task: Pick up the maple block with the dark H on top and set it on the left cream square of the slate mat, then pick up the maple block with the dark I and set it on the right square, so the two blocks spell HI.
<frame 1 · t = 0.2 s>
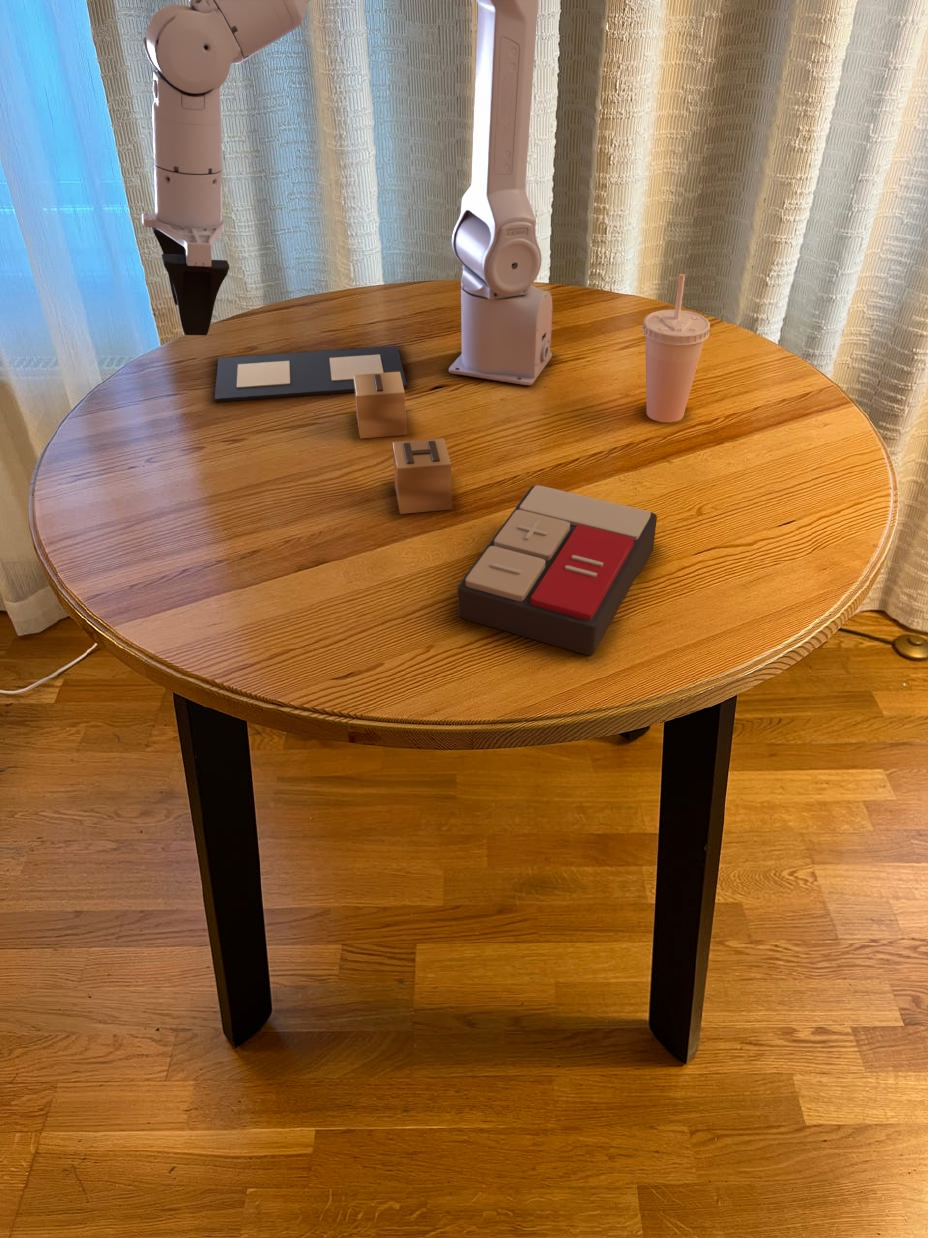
hand: (190, 318, 97), 10 cm above the table, tool pointing down, fingers open, 7 cm apart
letter block i: (381, 425, 102), on the table
calculator: (559, 584, 81), on the table
word mat: (310, 374, 111), on the table
smoothie: (664, 415, 103), on the table
letter block h: (423, 498, 91), on the table
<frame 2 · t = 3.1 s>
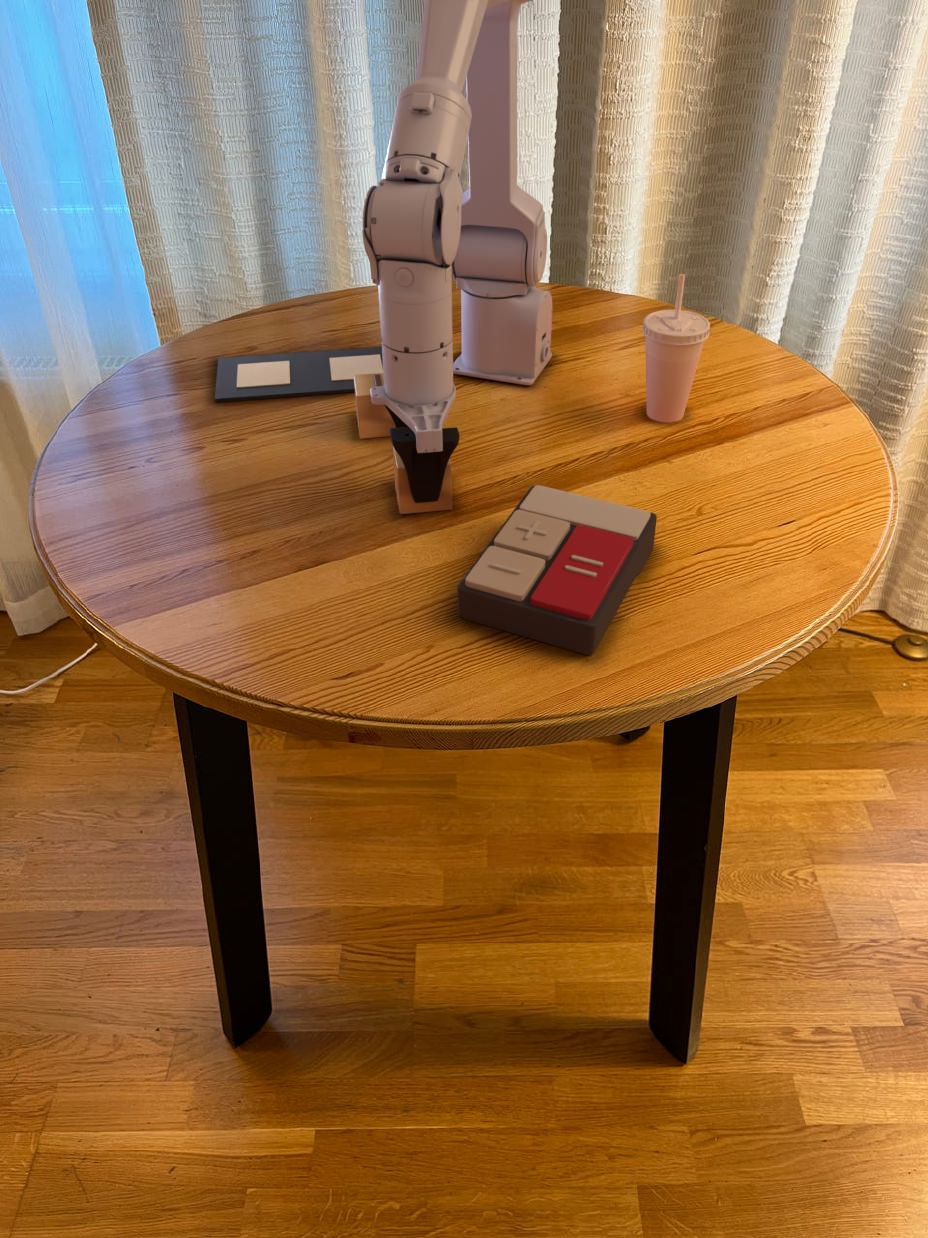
hand: (422, 484, 90), 1 cm above the table, tool pointing down, fingers closed on letter block h, 4 cm apart
letter block h: (423, 498, 91), on the table, touching gripper
everything else where it was.
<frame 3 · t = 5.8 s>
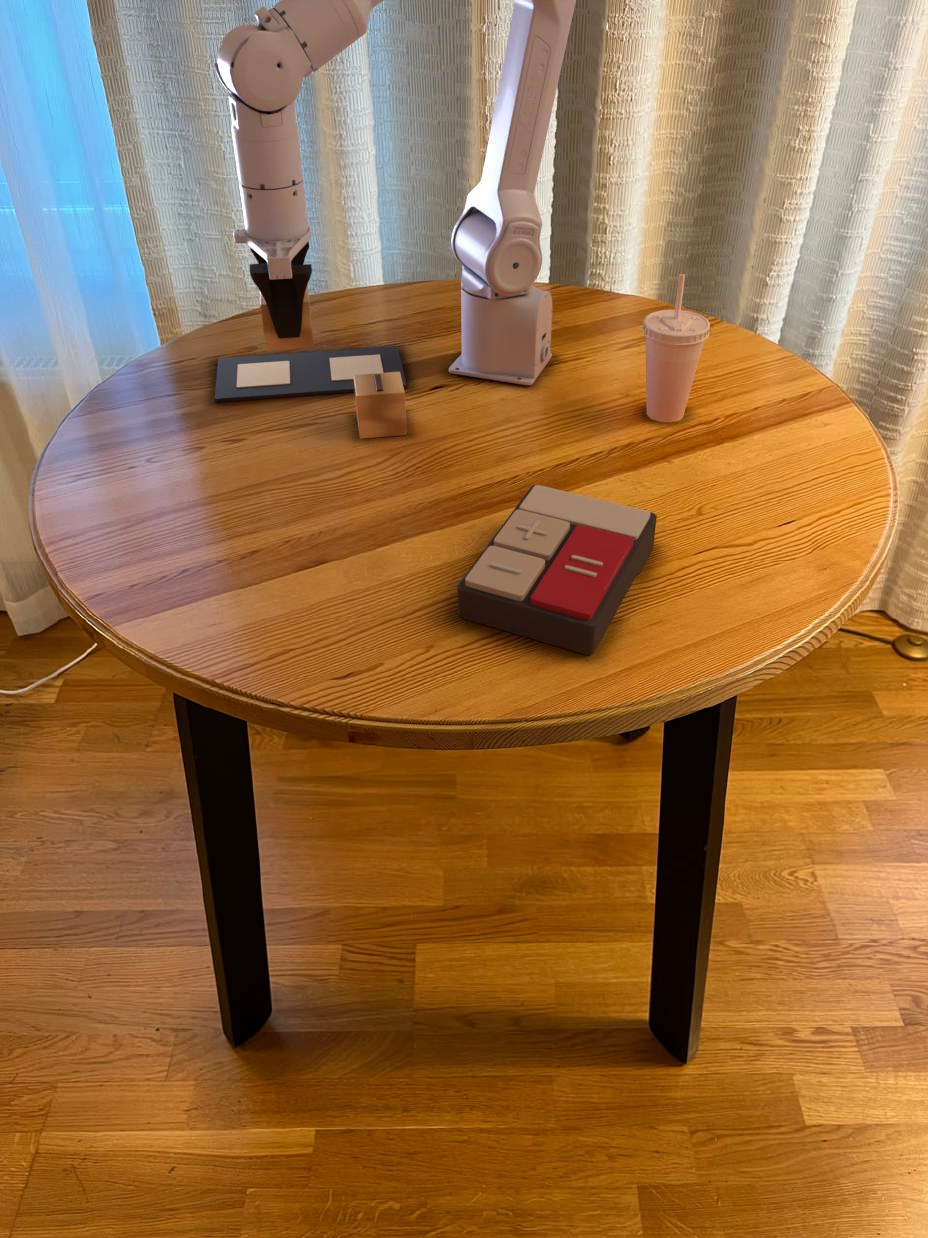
hand: (288, 325, 100), 8 cm above the table, tool pointing down, fingers closed on letter block h, 4 cm apart
letter block h: (289, 339, 101), point 7 cm above the table, touching gripper
everything else where it was.
when the fingers open (2 cm above the table, at t = 8.5 s): letter block h stays where it is, resting on word mat.
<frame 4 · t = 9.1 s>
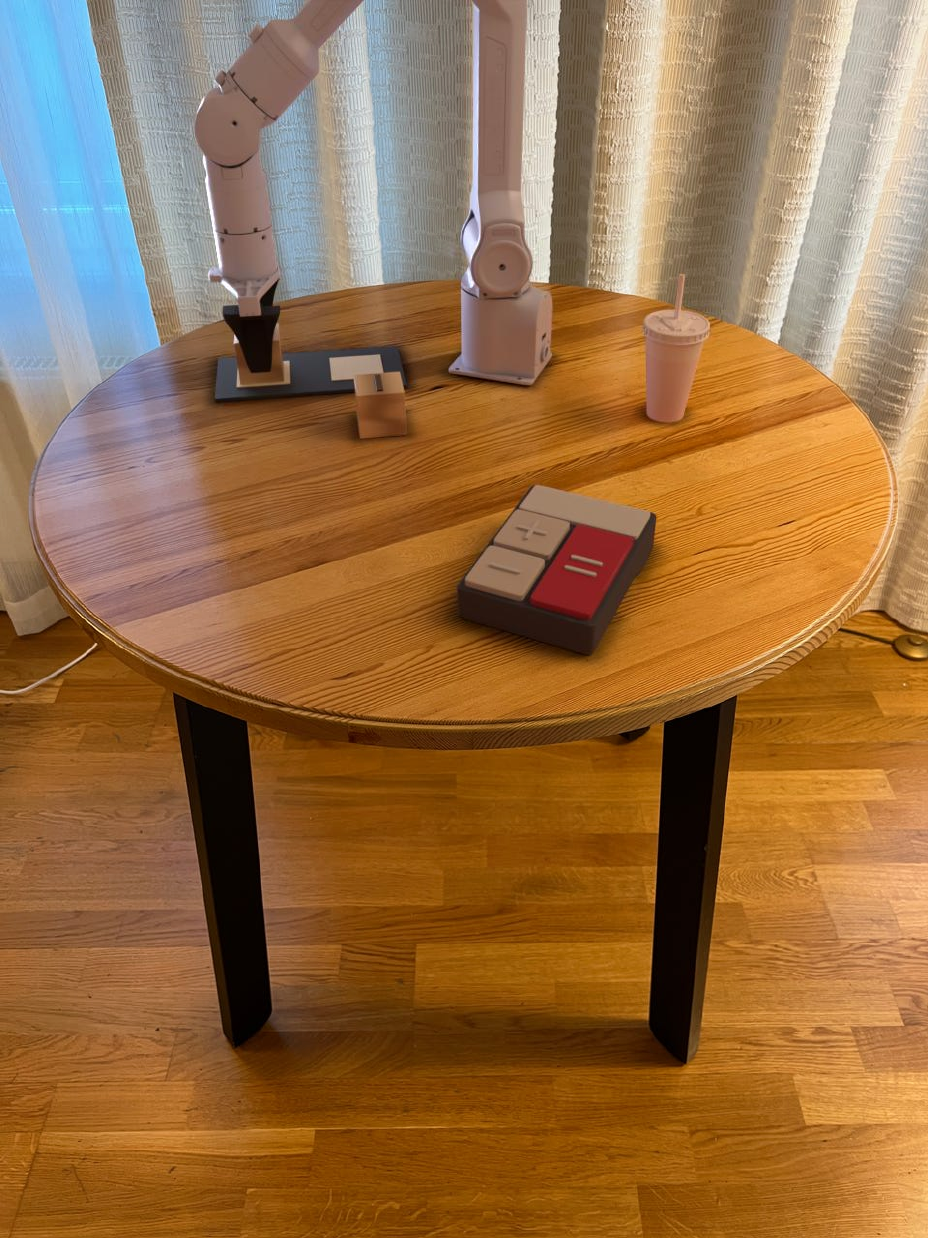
hand: (260, 355, 109), 3 cm above the table, tool pointing down, fingers open, 7 cm apart
letter block h: (262, 373, 110), resting on word mat
everything else where it was.
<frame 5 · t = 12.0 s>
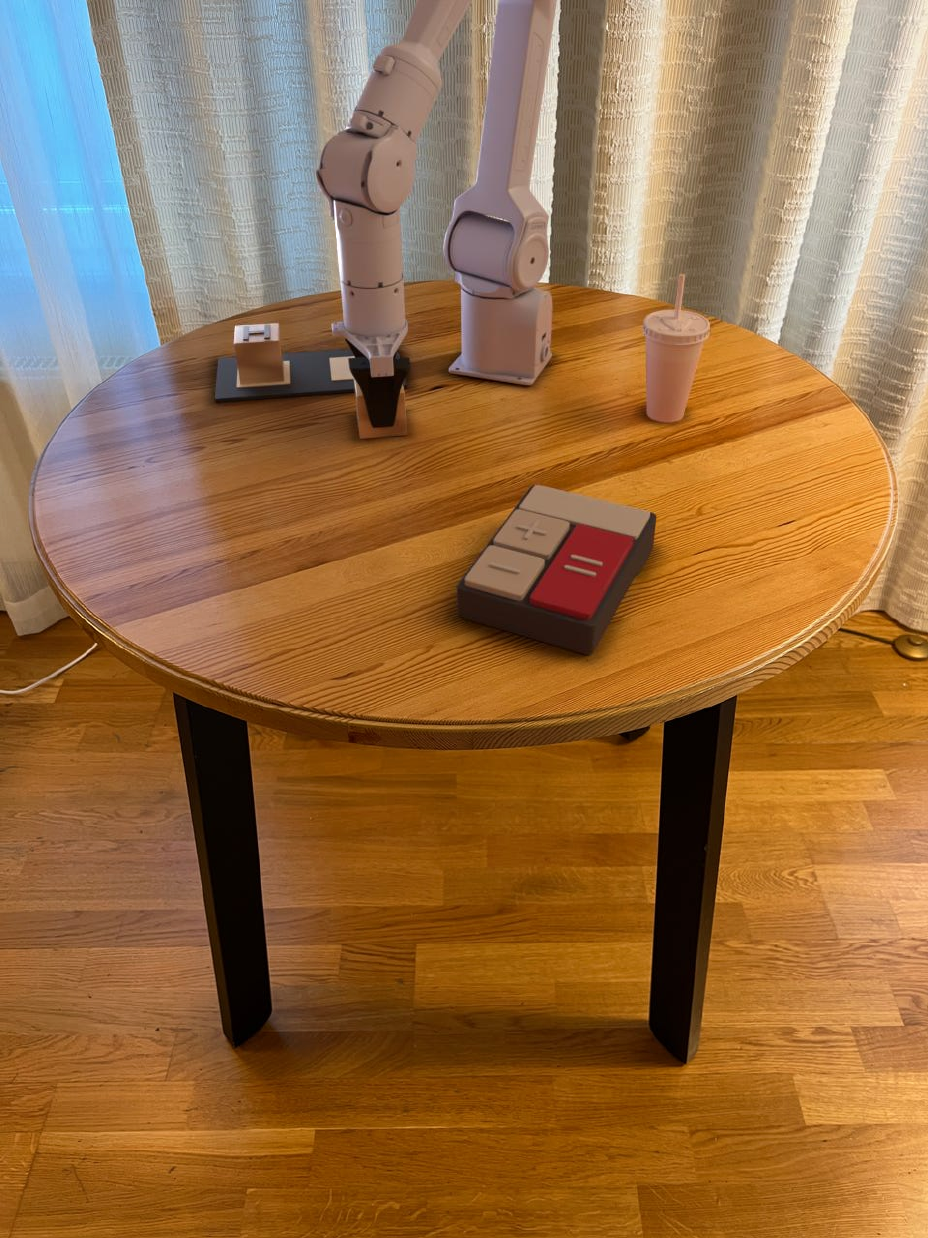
hand: (380, 413, 101), 1 cm above the table, tool pointing down, fingers closed on letter block i, 4 cm apart
letter block i: (381, 426, 102), on the table, touching gripper
everything else where it was.
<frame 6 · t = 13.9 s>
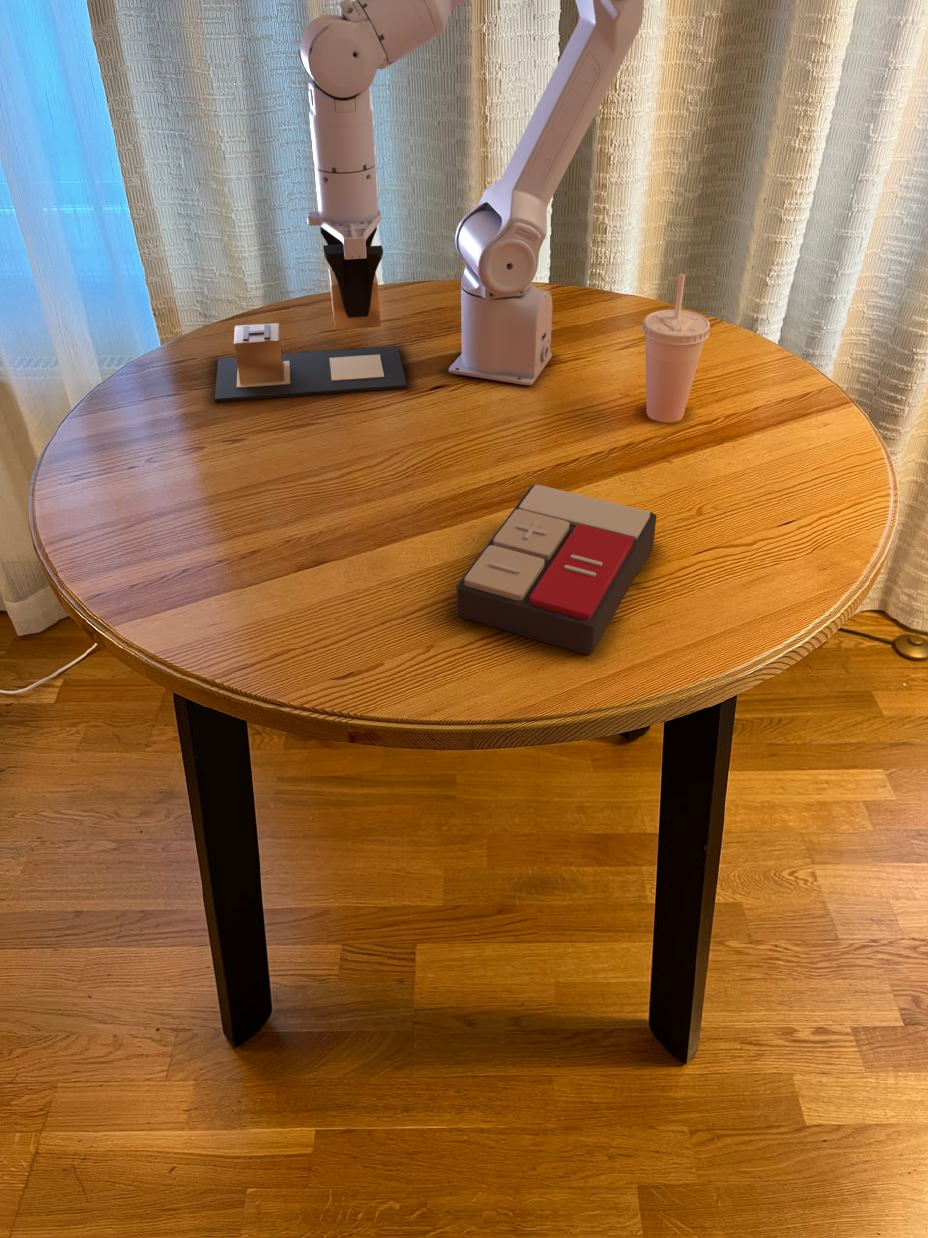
hand: (355, 305, 104), 8 cm above the table, tool pointing down, fingers closed on letter block i, 4 cm apart
letter block i: (356, 319, 105), point 7 cm above the table, touching gripper
everything else where it was.
when the fingers open (2 cm above the table, at t = 16.2 s): letter block i stays where it is, resting on word mat.
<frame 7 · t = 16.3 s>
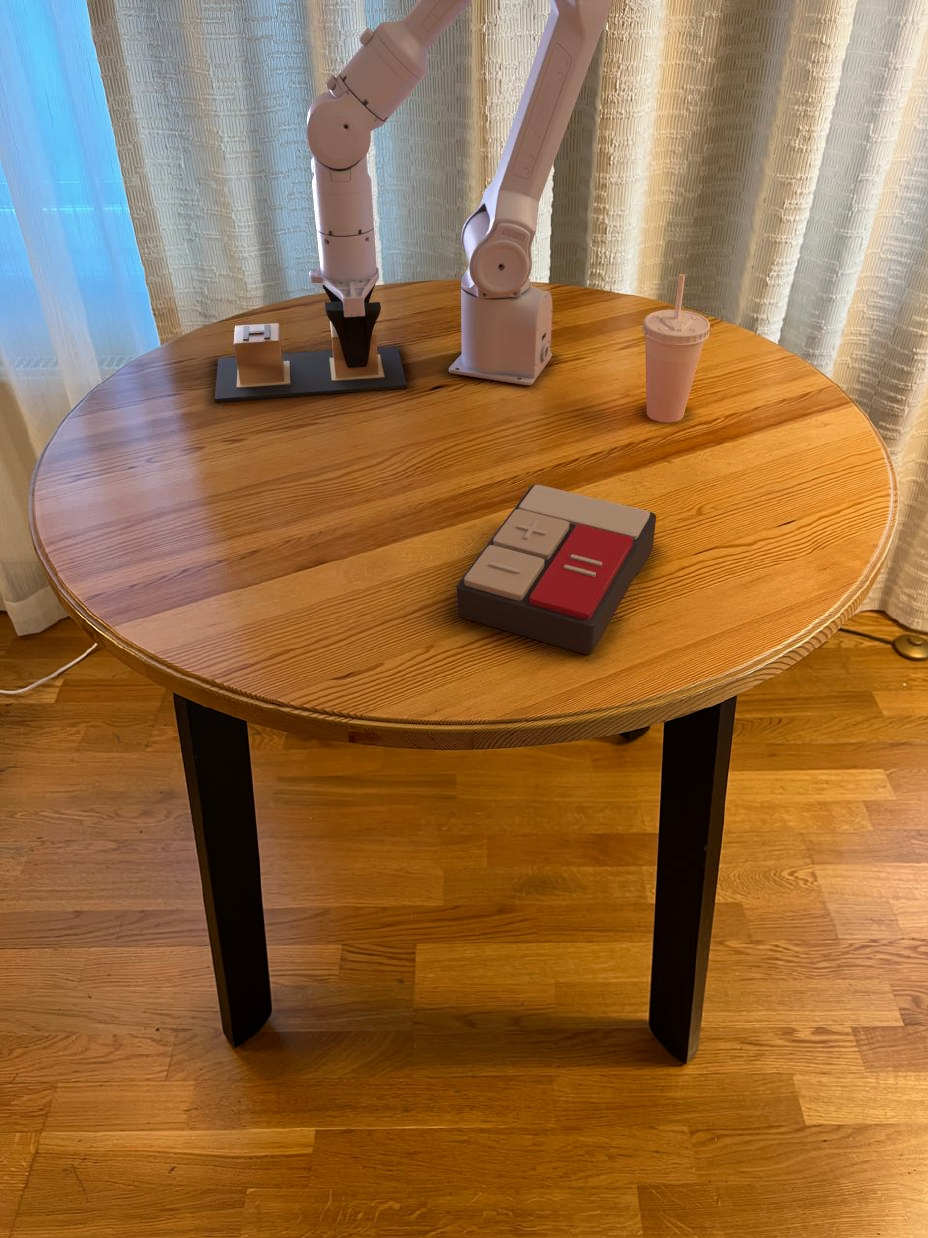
hand: (355, 355, 110), 2 cm above the table, tool pointing down, fingers open, 5 cm apart
letter block i: (355, 367, 111), resting on word mat
everything else where it was.
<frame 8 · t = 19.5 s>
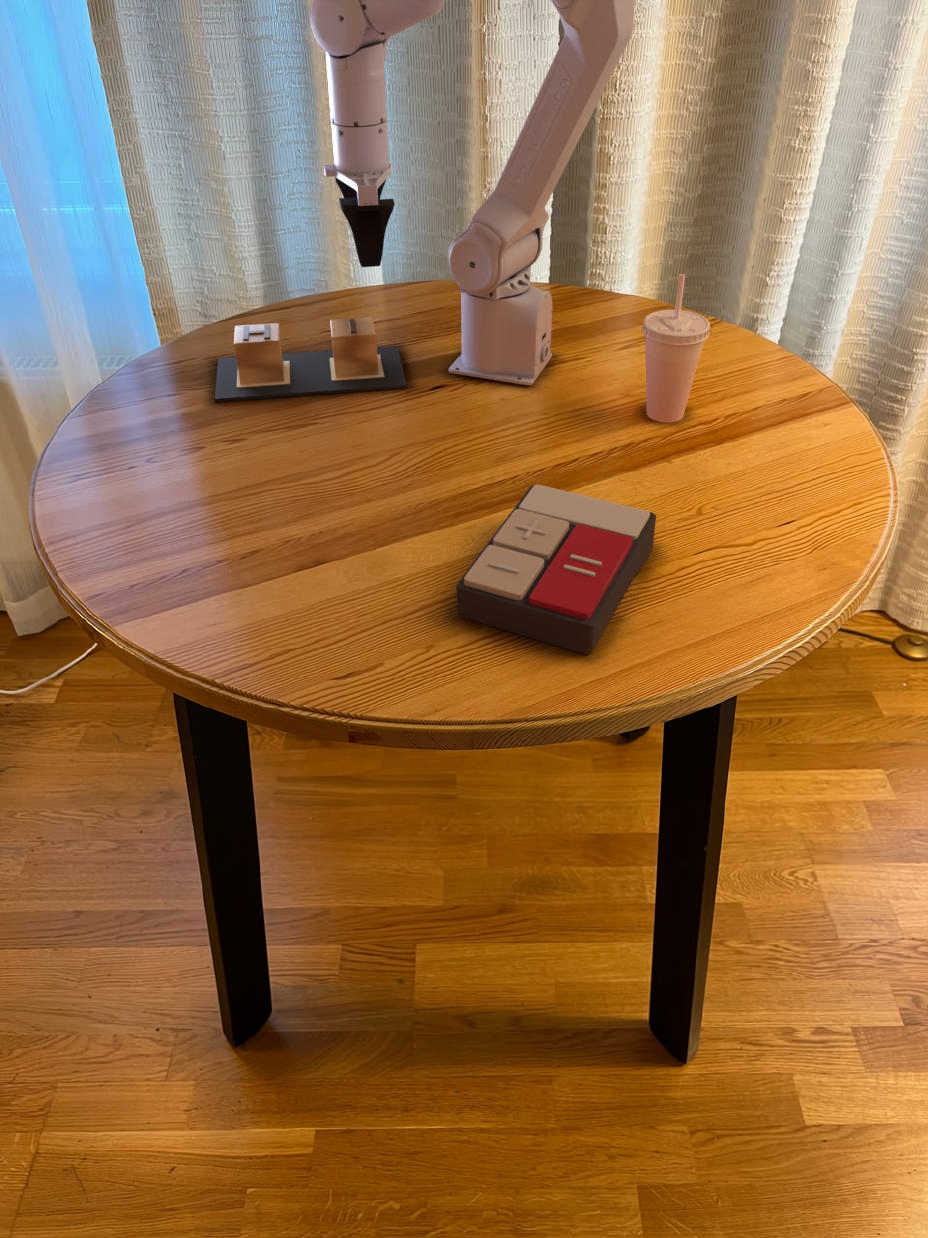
hand: (367, 253, 113), 9 cm above the table, tool pointing down, fingers open, 7 cm apart
nothing on the table moved.
at the end: letter block h 0.1 cm from the target spot on the word mat, point 0.5 cm above the word mat's base; letter block i 0.1 cm from the target spot on the word mat, point 0.5 cm above the word mat's base; letter block i tilted 0° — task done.
